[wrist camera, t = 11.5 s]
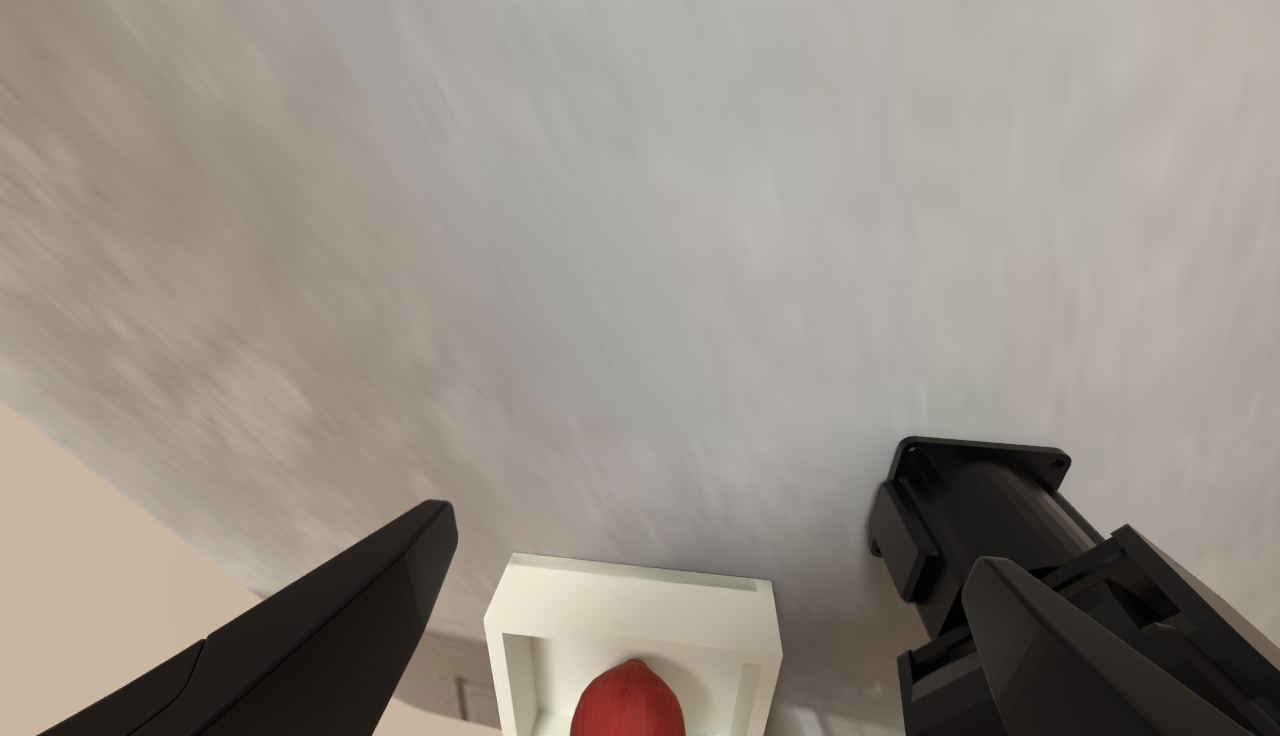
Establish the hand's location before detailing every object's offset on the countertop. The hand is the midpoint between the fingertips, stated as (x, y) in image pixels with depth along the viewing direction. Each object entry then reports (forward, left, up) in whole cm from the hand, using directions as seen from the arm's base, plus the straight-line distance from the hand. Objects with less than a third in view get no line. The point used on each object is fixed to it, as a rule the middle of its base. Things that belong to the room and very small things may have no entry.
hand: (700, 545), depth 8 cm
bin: (+2, +21, -12) cm, 24 cm away
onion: (+2, +21, -11) cm, 24 cm away
